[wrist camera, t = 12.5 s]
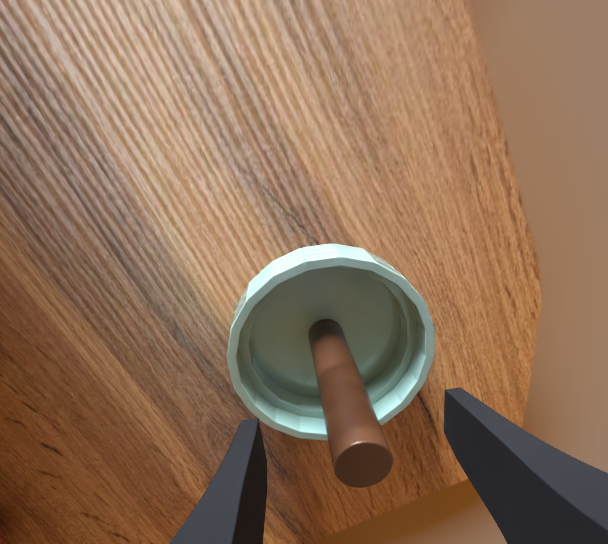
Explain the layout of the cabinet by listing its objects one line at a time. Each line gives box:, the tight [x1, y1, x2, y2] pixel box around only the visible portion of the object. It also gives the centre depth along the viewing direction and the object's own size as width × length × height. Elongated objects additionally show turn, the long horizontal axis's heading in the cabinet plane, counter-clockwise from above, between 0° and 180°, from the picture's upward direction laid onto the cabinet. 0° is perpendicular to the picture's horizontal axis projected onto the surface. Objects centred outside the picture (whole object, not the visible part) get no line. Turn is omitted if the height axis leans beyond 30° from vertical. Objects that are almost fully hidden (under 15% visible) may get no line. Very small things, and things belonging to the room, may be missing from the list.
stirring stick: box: [308, 319, 393, 488], centre depth 16 cm, size 2×2×9 cm
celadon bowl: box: [227, 243, 435, 441], centre depth 19 cm, size 11×11×3 cm
